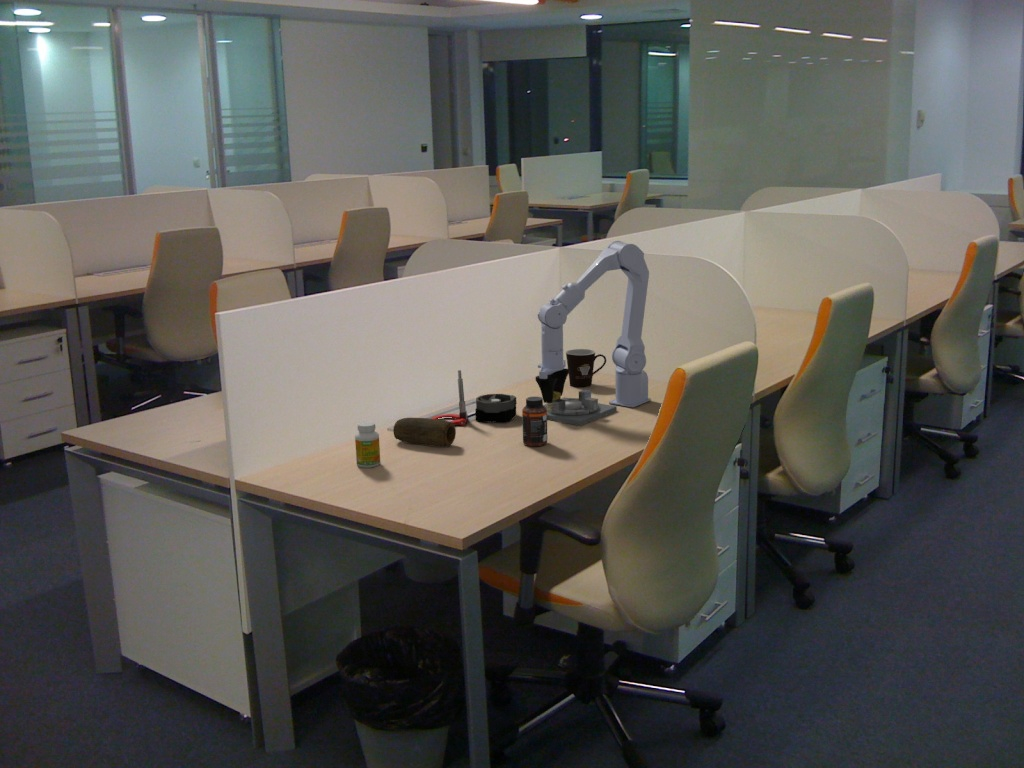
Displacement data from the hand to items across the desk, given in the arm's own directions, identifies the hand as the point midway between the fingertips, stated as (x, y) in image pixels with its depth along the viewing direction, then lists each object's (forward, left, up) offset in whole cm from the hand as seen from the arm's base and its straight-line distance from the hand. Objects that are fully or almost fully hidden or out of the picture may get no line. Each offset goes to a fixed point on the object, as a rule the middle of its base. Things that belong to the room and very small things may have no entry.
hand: (553, 399), depth 266 cm
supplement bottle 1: (+60, -9, -4) cm, 60 cm away
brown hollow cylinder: (+41, -9, -4) cm, 42 cm away
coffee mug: (-28, -9, -4) cm, 30 cm away
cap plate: (-1, +5, -3) cm, 6 cm away
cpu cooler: (+13, -9, -4) cm, 17 cm away
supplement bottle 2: (+26, +13, -4) cm, 29 cm away
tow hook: (+24, -17, -4) cm, 29 cm away
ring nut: (-1, +5, -2) cm, 6 cm away
